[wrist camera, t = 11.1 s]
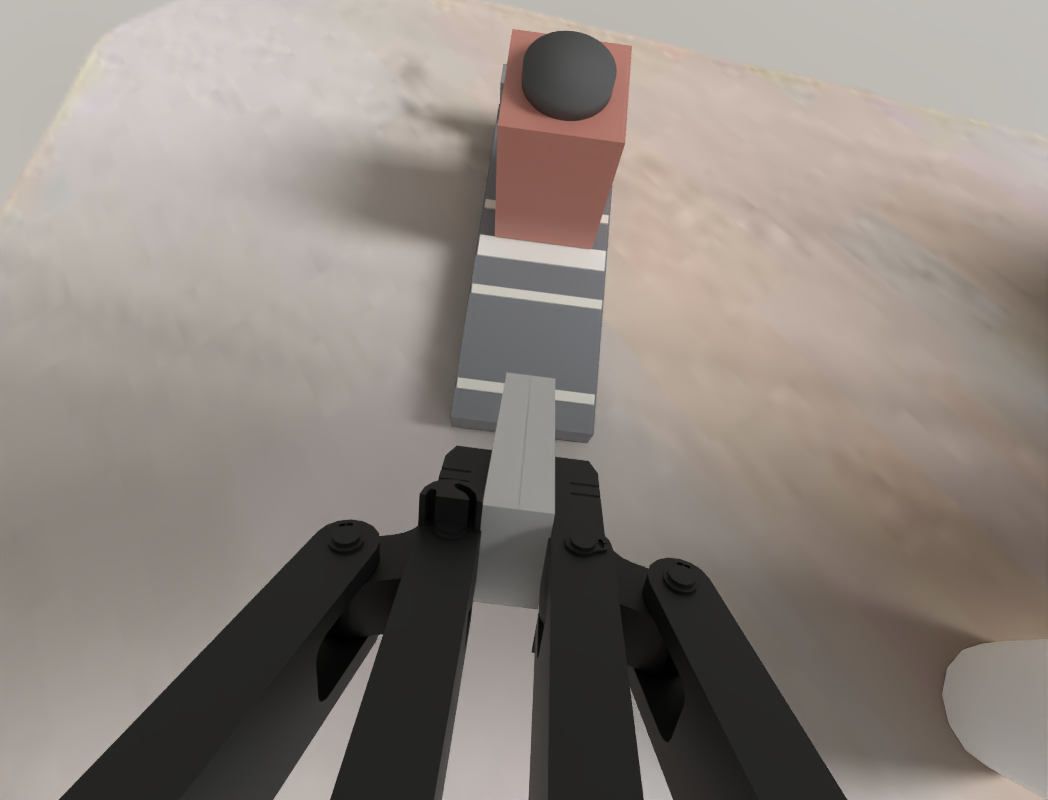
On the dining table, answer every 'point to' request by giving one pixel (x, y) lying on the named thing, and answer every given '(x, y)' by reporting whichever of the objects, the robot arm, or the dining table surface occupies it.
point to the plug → (559, 135)
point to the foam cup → (1003, 708)
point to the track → (531, 321)
